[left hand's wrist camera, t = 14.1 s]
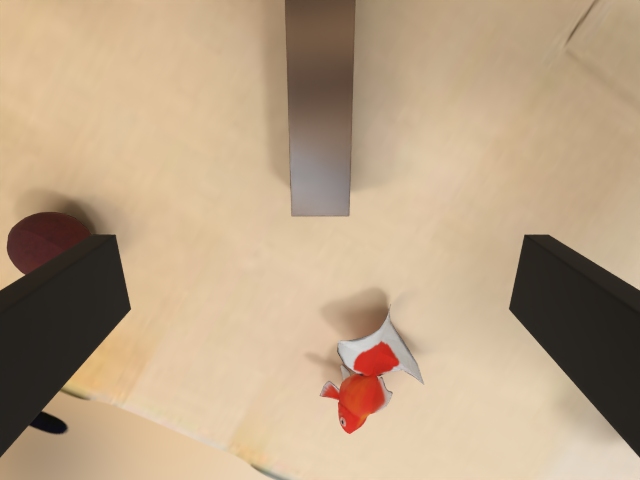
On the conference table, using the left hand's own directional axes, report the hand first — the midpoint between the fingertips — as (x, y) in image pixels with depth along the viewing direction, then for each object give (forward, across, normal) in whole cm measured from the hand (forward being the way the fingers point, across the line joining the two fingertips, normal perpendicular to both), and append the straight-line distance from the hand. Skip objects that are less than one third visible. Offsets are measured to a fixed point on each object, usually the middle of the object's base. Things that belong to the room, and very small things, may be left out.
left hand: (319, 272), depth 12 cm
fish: (+28, -6, +24) cm, 38 cm away
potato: (+28, +27, +9) cm, 41 cm away
